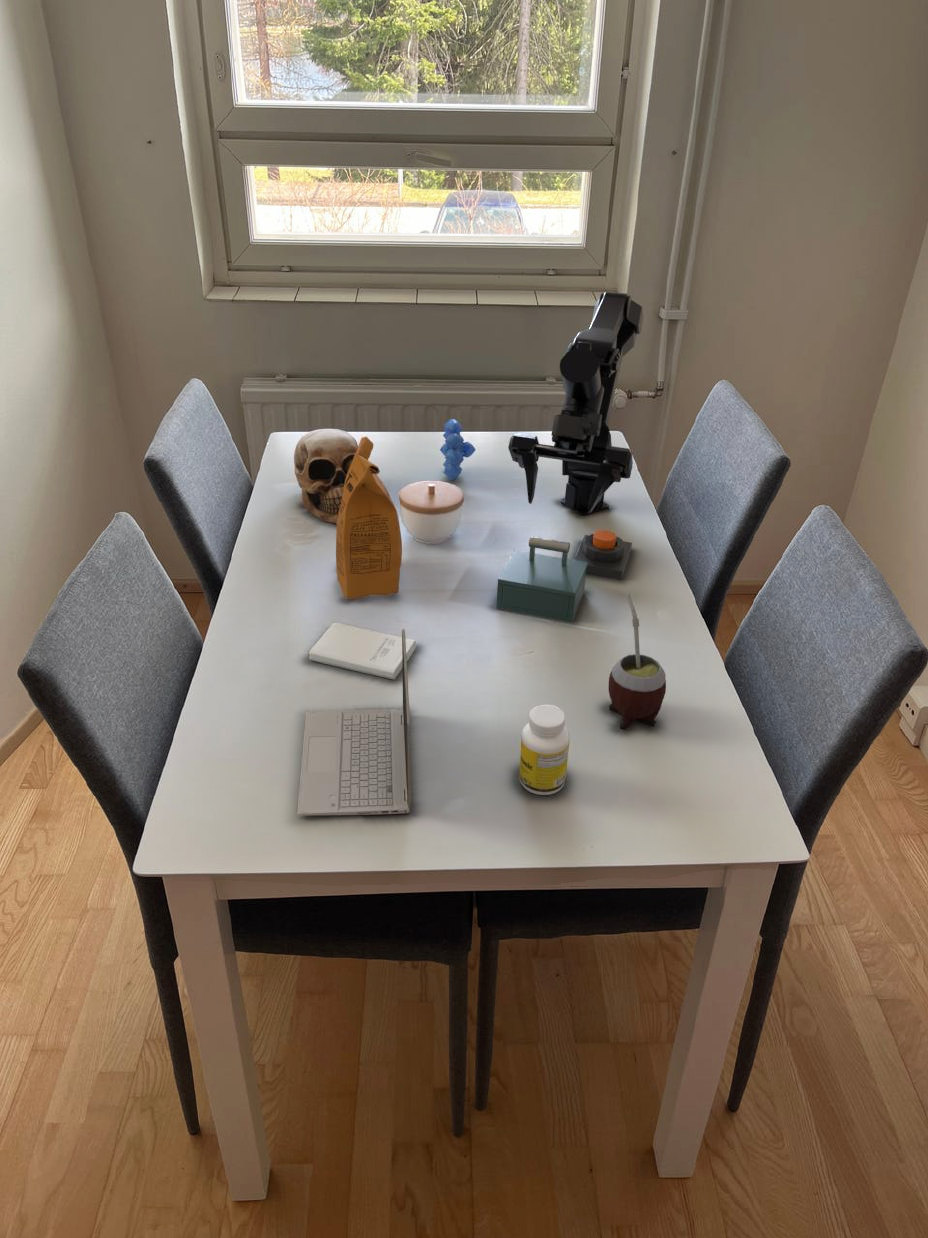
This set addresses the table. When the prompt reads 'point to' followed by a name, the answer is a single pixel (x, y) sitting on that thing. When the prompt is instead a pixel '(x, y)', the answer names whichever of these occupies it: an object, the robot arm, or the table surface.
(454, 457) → the grapes
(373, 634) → the hard drive
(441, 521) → the trinket box
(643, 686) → the mate gourd
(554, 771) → the supplement bottle
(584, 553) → the button block
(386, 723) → the laptop
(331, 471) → the skull
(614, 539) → the button
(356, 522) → the coffee package
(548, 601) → the dark green toolbox
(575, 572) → the lid
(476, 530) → the table surface
